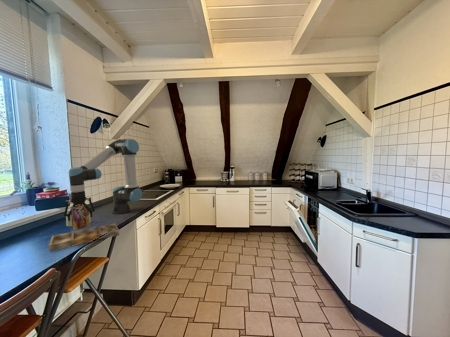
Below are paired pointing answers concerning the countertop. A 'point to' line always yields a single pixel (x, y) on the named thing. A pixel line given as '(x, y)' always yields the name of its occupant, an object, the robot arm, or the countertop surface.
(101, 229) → the rack
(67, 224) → the can
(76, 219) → the candy box
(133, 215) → the countertop surface
